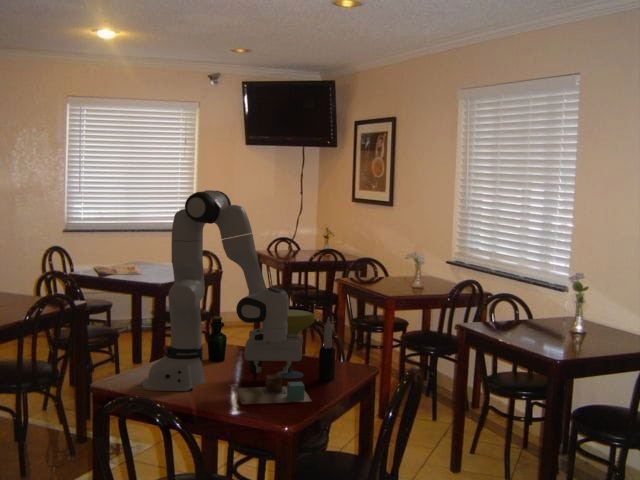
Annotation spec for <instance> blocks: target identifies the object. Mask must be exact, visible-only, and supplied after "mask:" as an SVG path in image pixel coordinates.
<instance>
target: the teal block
mask: <svg viewBox="0 0 640 480" xmlns="http://www.w3.org/2000/svg"><path fill="white" fill-rule="evenodd" d="M286 386H287V397H288V399H289V400H290V401H296V400H304V390H305V389H306V388H305V384H304V383H303V381H287V384H286Z"/></svg>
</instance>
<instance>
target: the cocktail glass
mask: <svg viewBox="0 0 640 480" xmlns="http://www.w3.org/2000/svg"><path fill="white" fill-rule="evenodd" d="M315 317H316V315H315V311H314V310H312V309H307V308H303V307H290V306H289V313H288V317H287V325H288V328H287V334H291V335H297V334H298V333H299V332H302V331H303V330H305V329H308V328H309V327H311V326H312V325H313V324H314V322H315V321H316V320H315V319H316V318H315ZM276 374H280V375H281V377H282V380H297V379H298V380H299V379H302V378H303V377H304V375H305V374H304V373H303V372H300V371H295V370H292V364H291V365H290V367H289V368H288V373H283V370H282V371H278V372H276V373H275V375H276Z"/></svg>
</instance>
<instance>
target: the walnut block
mask: <svg viewBox="0 0 640 480" xmlns="http://www.w3.org/2000/svg"><path fill="white" fill-rule="evenodd" d="M282 386H283V378H282V377H281V375H280V374H276V373H275V374H266V375H265V387H266V390H267V392H268V393H276V392H282Z"/></svg>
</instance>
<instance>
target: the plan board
mask: <svg viewBox="0 0 640 480" xmlns="http://www.w3.org/2000/svg"><path fill="white" fill-rule="evenodd" d="M235 391H236V394H237V396H238V399H239V402H240V403H241V405H258V404H260V405H261V404H279V403H280V404H283V403H285V404H286V403H306V402H307V403H308V402H313V400H312V398H310V396H309V394H308V393H307V392H306V390H305V389H304V400H296V401H290V400H289V399H288V397H287V385H284V386H283V385H282V392H276V393H268V392H267V390H266V386H254V387H235Z"/></svg>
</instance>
